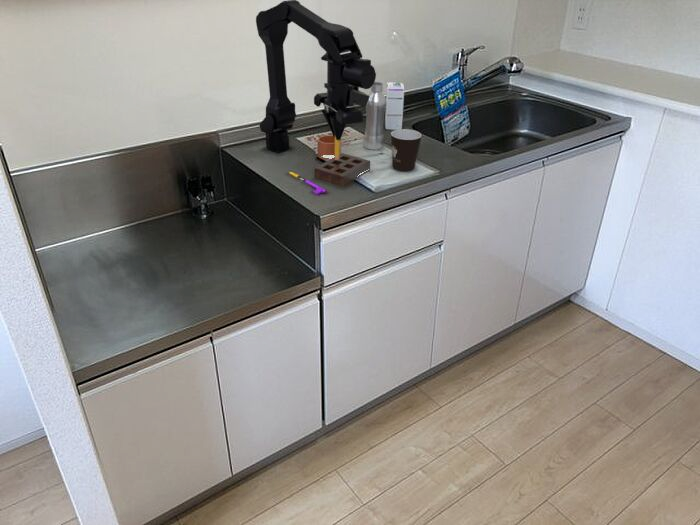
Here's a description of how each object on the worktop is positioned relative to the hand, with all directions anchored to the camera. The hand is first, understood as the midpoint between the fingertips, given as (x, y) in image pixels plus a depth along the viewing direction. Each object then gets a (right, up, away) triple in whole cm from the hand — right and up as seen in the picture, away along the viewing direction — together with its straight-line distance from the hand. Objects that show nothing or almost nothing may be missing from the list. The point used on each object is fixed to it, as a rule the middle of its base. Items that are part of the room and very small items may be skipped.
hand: (337, 138), depth 153 cm
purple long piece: (-9, -13, 0) cm, 16 cm away
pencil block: (+1, -9, +5) cm, 11 cm away
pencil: (0, -5, +3) cm, 6 cm away
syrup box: (+18, +13, +40) cm, 46 cm away
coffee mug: (+19, -5, +12) cm, 23 cm away
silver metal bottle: (+11, +2, +23) cm, 25 cm away
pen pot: (-3, -2, +16) cm, 16 cm away
